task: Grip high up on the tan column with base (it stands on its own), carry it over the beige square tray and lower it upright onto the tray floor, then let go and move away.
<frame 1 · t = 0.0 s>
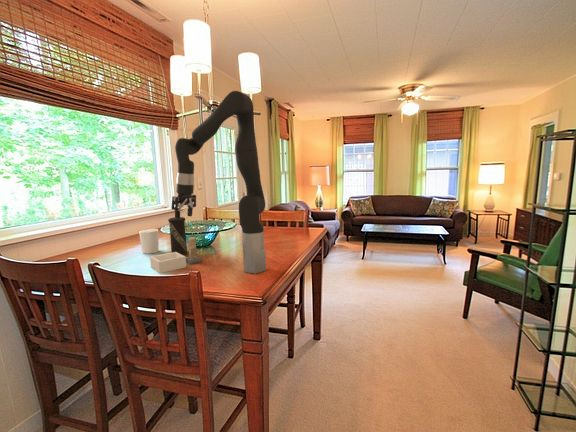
hand: (183, 217, 141), 22 cm above the table, tool pointing down, fingers open, 8 cm apart
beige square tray: (168, 267, 139), on the table
candle holder: (150, 252, 168), on the table
container: (179, 254, 163), on the table
tan column with base: (193, 261, 147), on the table
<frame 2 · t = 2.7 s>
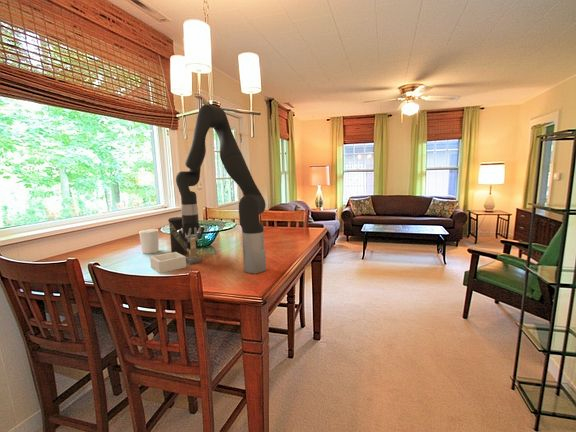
hand: (192, 248, 146), 7 cm above the table, tool pointing down, fingers closed on tan column with base, 2 cm apart
tan column with base: (193, 261, 147), on the table, touching gripper
everything else where it was.
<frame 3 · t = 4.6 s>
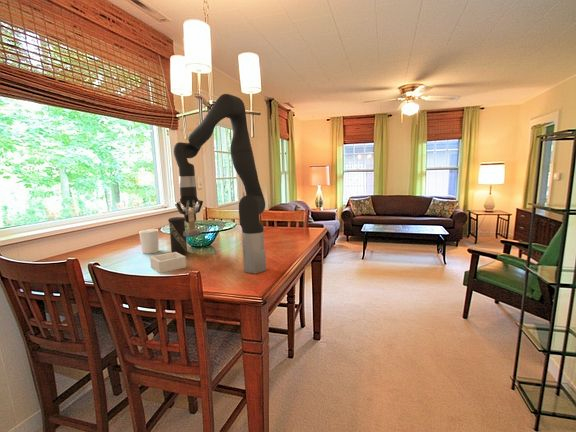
hand: (190, 222, 144), 20 cm above the table, tool pointing down, fingers closed on tan column with base, 2 cm apart
tan column with base: (192, 235, 145), point 13 cm above the table, touching gripper
everything else where it was.
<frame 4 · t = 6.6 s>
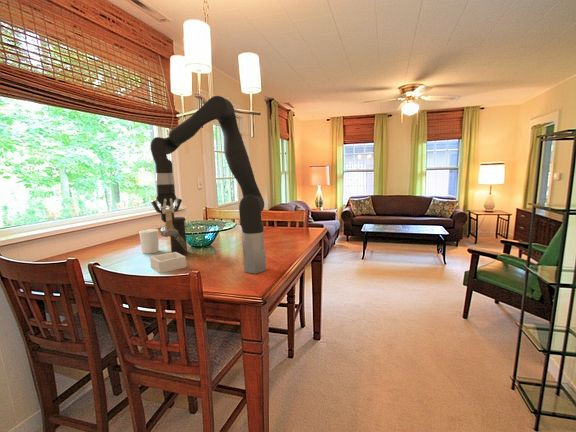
hand: (168, 221, 137), 21 cm above the table, tool pointing down, fingers closed on tan column with base, 2 cm apart
tan column with base: (169, 235, 138), point 15 cm above the table, touching gripper
everything else where it was.
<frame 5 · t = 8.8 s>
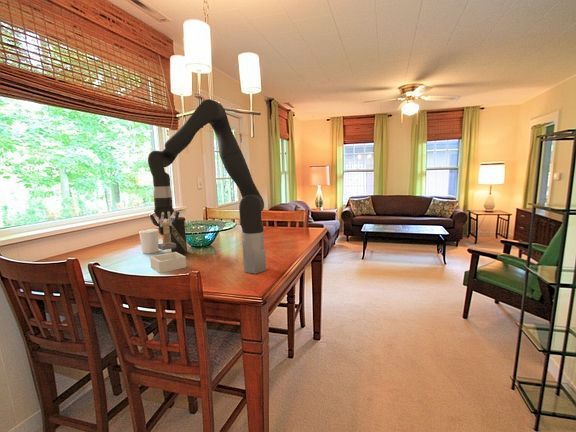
hand: (165, 234, 137), 16 cm above the table, tool pointing down, fingers closed on tan column with base, 2 cm apart
tan column with base: (167, 248, 137), point 9 cm above the table, touching gripper
everything else where it was.
when the fingers open (9 cm above the table, at t = 10.7 s): tan column with base drops 1 cm, resting on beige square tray.
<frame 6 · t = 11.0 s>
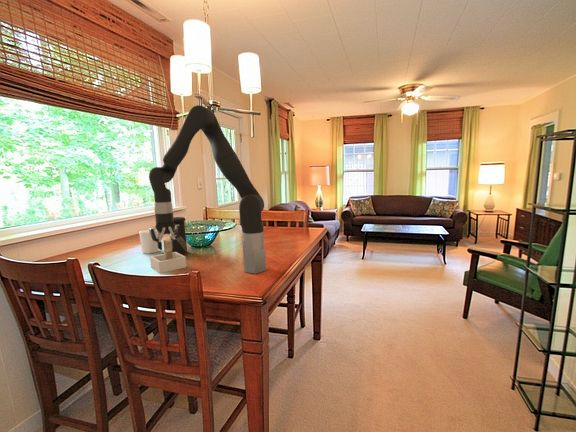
hand: (167, 248, 138), 9 cm above the table, tool pointing down, fingers open, 5 cm apart
tan column with base: (169, 265, 138), point 1 cm above the table, touching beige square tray
everything else where it was.
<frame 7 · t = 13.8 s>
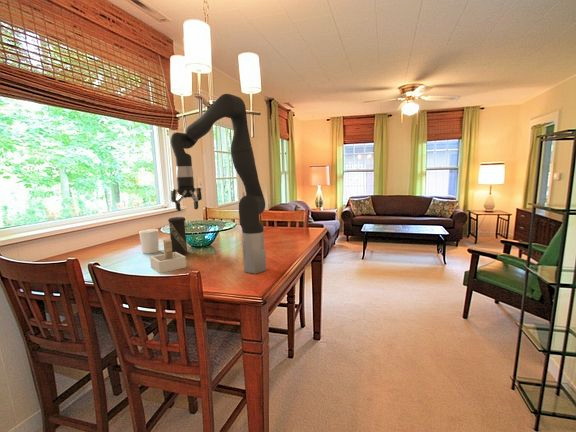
hand: (187, 210, 145), 25 cm above the table, tool pointing down, fingers open, 8 cm apart
nothing on the table moved.
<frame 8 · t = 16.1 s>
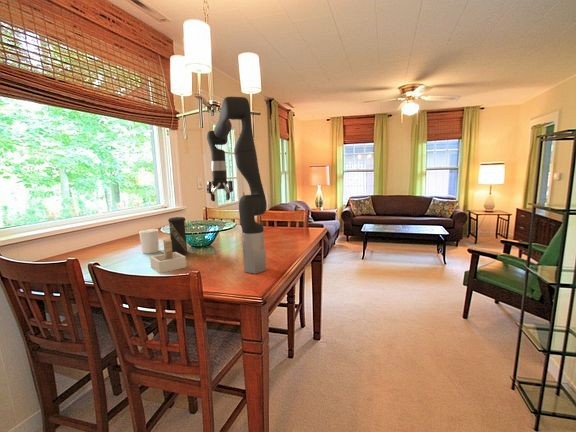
hand: (220, 200, 160), 28 cm above the table, tool pointing down, fingers open, 8 cm apart
nothing on the table moved.
at the end: tan column with base 1.1 cm off-centre on the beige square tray, point 1.0 cm above the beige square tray's base; tan column with base tilted 0°; the gripper is holding nothing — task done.
